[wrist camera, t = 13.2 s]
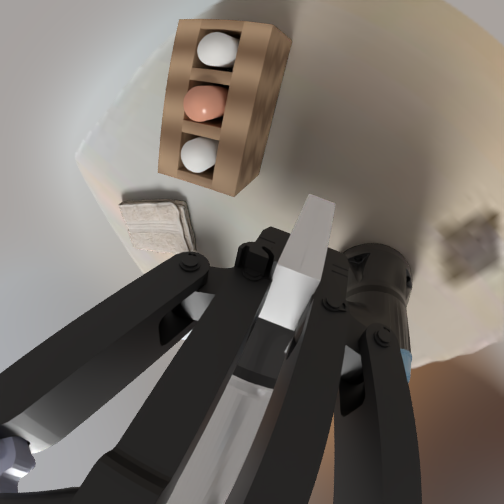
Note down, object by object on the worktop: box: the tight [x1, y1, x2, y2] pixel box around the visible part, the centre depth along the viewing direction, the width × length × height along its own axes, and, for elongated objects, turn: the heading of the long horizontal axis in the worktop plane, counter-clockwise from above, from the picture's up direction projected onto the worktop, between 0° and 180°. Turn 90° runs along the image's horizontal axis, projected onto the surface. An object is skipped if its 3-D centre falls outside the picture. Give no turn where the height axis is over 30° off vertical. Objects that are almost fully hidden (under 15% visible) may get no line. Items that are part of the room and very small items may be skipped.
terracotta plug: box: [183, 86, 229, 122], centre depth 31 cm, size 4×4×9 cm
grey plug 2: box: [181, 136, 219, 173], centre depth 36 cm, size 4×4×9 cm
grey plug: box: [197, 32, 240, 69], centre depth 28 cm, size 4×4×9 cm
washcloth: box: [119, 199, 196, 254], centre depth 54 cm, size 12×18×3 cm, turn 98°
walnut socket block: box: [158, 19, 292, 197], centre depth 32 cm, size 22×12×10 cm, turn 167°
